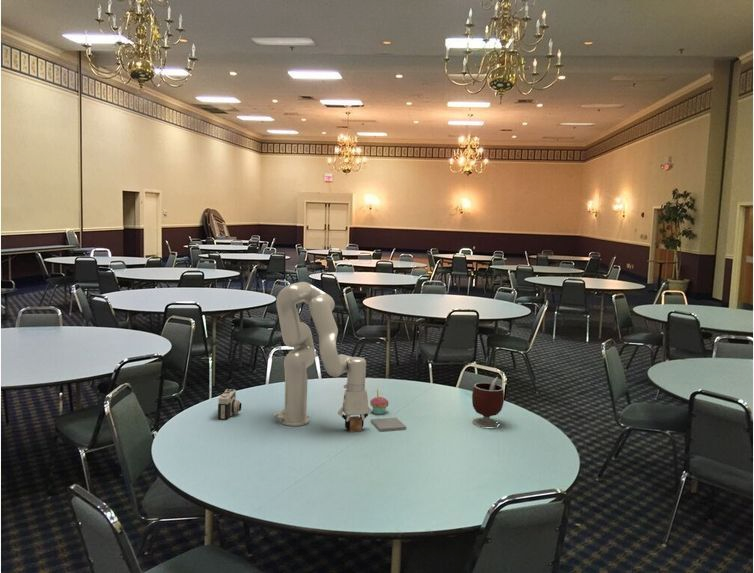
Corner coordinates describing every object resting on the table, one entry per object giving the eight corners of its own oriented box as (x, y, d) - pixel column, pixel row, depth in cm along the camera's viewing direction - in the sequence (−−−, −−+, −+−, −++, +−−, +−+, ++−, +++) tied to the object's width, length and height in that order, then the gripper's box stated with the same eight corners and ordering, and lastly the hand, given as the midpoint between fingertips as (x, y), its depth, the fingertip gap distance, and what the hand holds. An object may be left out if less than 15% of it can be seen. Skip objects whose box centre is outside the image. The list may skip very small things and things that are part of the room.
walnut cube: (350, 432, 244) (350, 420, 244) (346, 428, 249) (347, 416, 248) (361, 431, 246) (362, 419, 245) (357, 427, 250) (358, 416, 250)
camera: (236, 420, 251) (236, 398, 250) (217, 419, 251) (217, 397, 250) (243, 410, 265) (244, 388, 264) (225, 409, 265) (226, 388, 264)
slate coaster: (379, 431, 246) (380, 428, 246) (370, 422, 258) (370, 419, 258) (406, 429, 251) (406, 426, 250) (395, 420, 262) (396, 417, 262)
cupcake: (380, 416, 265) (381, 391, 264) (365, 412, 270) (367, 387, 269) (391, 412, 272) (393, 387, 271) (377, 408, 277) (378, 383, 276)
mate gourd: (493, 431, 253) (496, 386, 251) (464, 423, 261) (467, 380, 259) (508, 422, 265) (511, 379, 263) (480, 415, 274) (483, 373, 271)
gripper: (338, 390, 239) (337, 433, 241) (378, 388, 245) (376, 430, 247) (333, 385, 246) (332, 427, 248) (372, 383, 252) (370, 424, 254)
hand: (354, 428), depth 247 cm, fingers closed on walnut cube, 5 cm apart
